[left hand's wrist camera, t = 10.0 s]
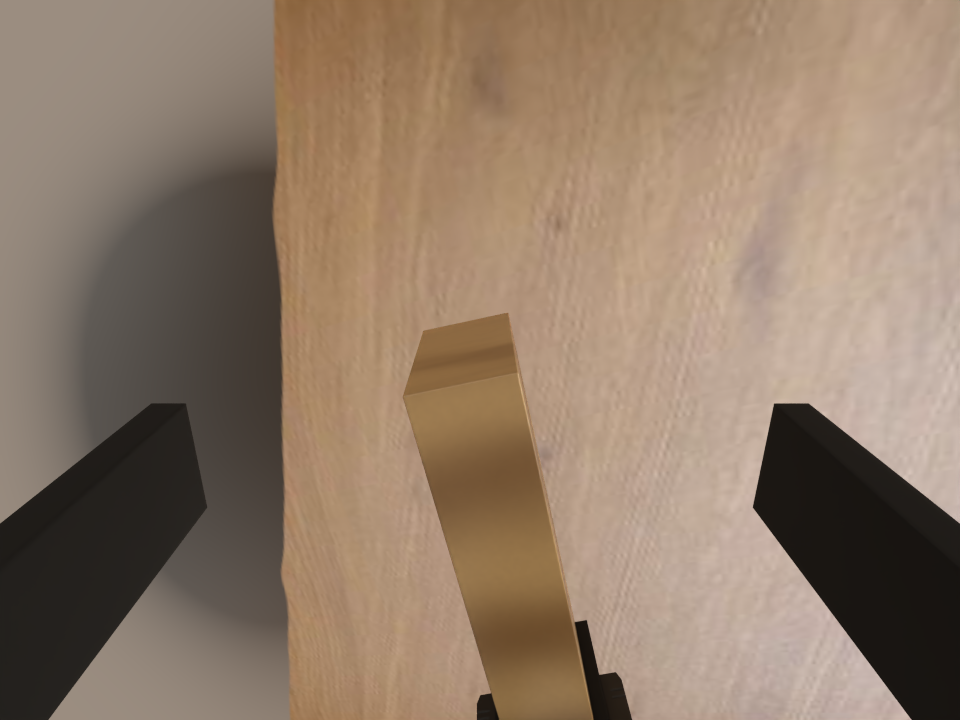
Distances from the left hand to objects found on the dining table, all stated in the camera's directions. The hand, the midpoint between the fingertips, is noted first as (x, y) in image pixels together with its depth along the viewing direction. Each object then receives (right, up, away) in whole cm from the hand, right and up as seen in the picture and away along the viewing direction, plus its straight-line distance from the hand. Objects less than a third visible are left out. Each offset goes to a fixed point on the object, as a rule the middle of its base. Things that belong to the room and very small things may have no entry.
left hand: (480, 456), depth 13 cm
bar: (+2, -7, +20) cm, 22 cm away
